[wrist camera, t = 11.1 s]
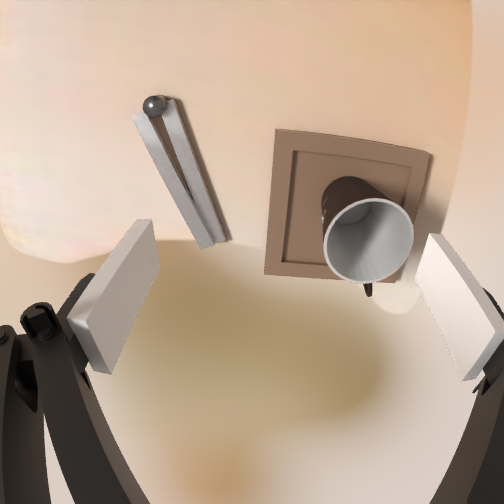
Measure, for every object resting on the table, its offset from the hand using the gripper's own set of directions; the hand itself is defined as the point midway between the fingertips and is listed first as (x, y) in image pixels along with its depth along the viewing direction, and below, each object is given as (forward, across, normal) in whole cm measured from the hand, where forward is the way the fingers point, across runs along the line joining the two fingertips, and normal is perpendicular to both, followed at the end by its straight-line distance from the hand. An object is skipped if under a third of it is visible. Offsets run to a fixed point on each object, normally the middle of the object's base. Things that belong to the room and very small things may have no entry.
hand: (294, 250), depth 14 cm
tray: (+22, +8, -8) cm, 24 cm away
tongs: (+22, -11, -4) cm, 25 cm away
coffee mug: (+21, +8, -8) cm, 24 cm away
